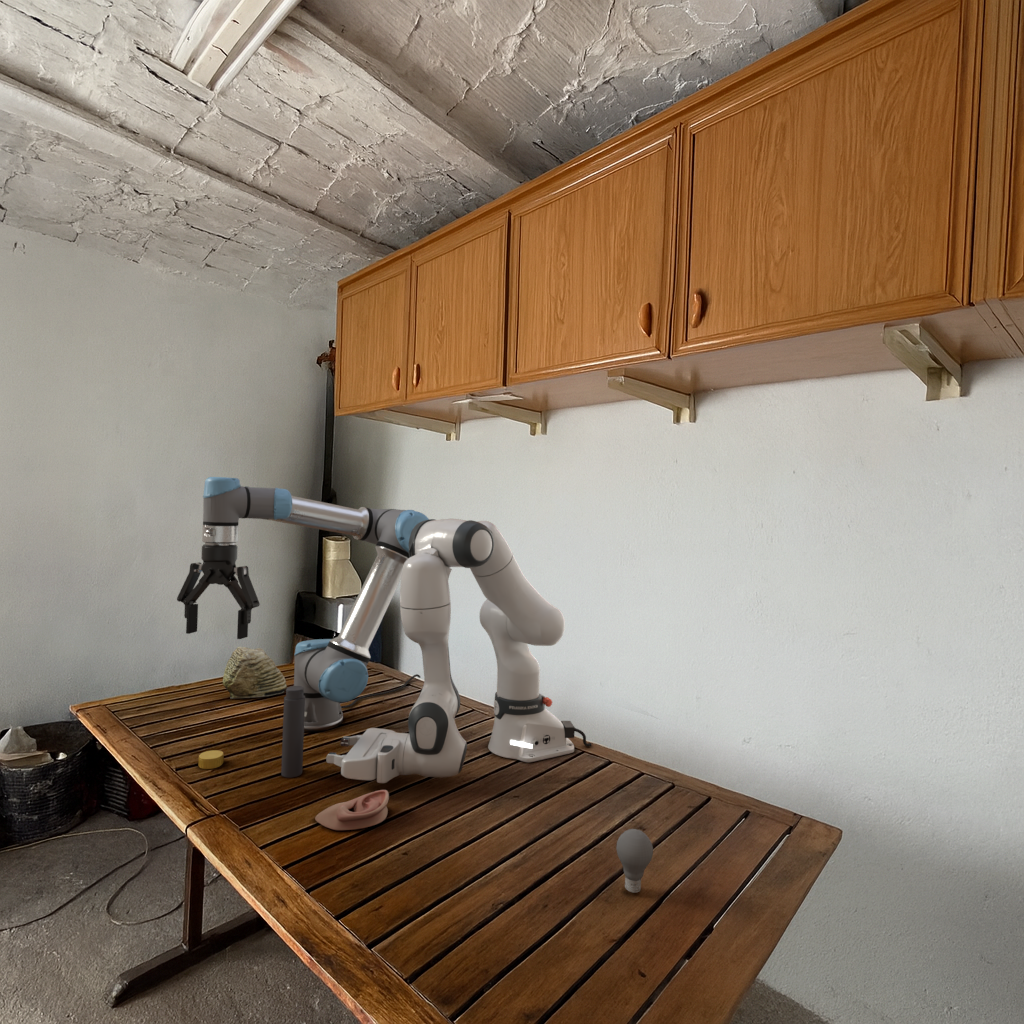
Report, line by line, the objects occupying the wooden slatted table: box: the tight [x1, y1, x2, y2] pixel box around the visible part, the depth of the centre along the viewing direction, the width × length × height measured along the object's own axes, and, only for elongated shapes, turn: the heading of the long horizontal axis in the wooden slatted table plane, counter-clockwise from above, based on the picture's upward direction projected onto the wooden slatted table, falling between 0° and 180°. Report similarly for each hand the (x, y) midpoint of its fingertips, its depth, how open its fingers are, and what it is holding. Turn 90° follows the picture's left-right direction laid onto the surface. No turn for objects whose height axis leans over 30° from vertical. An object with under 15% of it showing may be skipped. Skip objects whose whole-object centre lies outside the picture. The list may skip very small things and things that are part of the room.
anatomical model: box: [314, 789, 390, 831], centre depth 126 cm, size 13×4×12 cm
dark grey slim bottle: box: [280, 685, 305, 779], centre depth 144 cm, size 4×4×20 cm
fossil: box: [222, 646, 288, 699], centre depth 198 cm, size 9×18×15 cm, turn 132°
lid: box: [197, 749, 225, 770], centre depth 147 cm, size 5×5×2 cm
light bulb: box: [615, 828, 654, 894], centre depth 106 cm, size 6×6×10 cm
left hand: (216, 635), depth 147 cm, fingers open, 13 cm apart
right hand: (334, 749), depth 144 cm, fingers open, 8 cm apart
